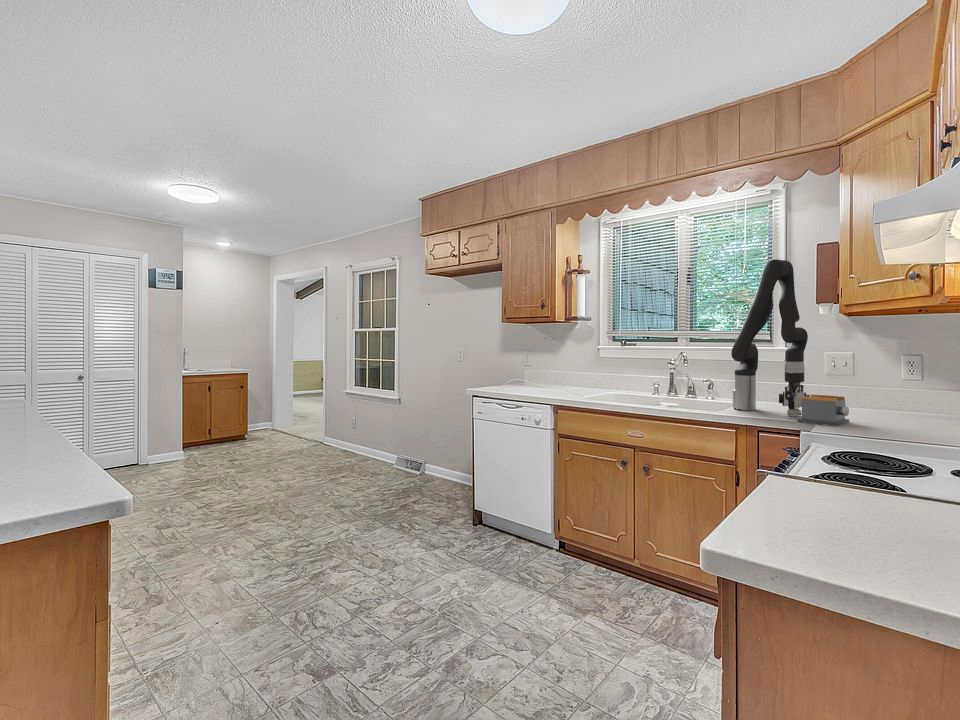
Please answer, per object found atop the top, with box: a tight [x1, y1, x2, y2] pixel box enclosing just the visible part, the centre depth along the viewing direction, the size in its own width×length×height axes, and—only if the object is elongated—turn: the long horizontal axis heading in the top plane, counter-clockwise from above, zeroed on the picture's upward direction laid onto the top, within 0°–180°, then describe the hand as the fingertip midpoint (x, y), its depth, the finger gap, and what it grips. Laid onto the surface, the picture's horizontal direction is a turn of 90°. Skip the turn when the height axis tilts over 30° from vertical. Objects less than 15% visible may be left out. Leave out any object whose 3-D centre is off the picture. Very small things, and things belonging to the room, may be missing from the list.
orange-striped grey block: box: [797, 394, 850, 426], centre depth 200 cm, size 15×14×11 cm
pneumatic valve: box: [778, 390, 811, 418], centre depth 217 cm, size 6×12×12 cm, turn 55°
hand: (794, 408), depth 217 cm, fingers closed on pneumatic valve, 6 cm apart
